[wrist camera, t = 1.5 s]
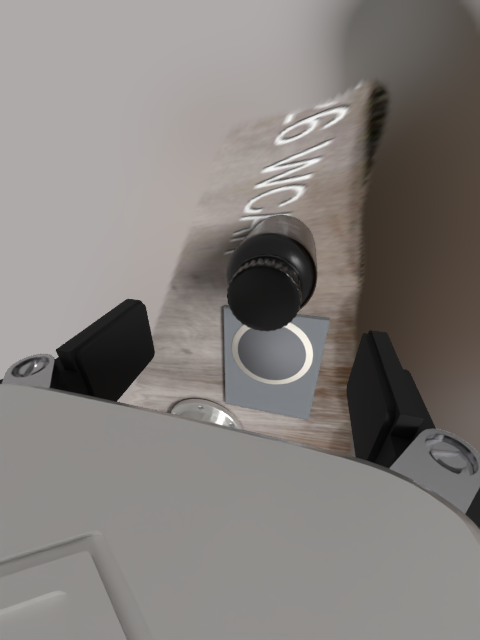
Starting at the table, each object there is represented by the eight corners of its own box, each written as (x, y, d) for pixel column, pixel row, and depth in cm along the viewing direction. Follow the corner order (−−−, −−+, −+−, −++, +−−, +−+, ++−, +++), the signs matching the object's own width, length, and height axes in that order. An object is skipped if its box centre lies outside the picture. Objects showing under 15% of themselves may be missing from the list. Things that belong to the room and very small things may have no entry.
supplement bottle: (235, 253, 28) (191, 300, 18) (277, 198, 24) (253, 216, 14) (283, 294, 29) (268, 361, 18) (331, 246, 25) (344, 296, 15)
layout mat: (308, 416, 37) (308, 421, 36) (226, 400, 39) (225, 404, 38) (329, 318, 29) (329, 321, 28) (225, 305, 31) (223, 308, 30)
